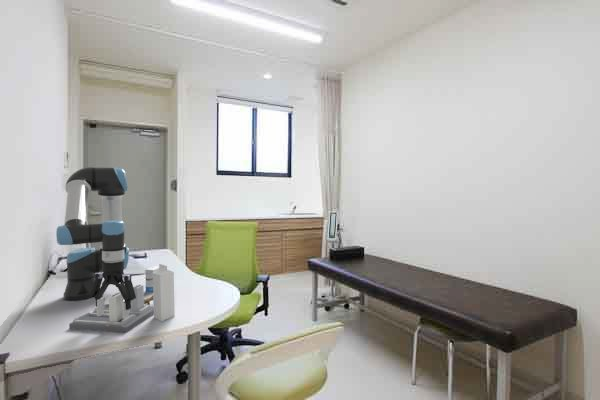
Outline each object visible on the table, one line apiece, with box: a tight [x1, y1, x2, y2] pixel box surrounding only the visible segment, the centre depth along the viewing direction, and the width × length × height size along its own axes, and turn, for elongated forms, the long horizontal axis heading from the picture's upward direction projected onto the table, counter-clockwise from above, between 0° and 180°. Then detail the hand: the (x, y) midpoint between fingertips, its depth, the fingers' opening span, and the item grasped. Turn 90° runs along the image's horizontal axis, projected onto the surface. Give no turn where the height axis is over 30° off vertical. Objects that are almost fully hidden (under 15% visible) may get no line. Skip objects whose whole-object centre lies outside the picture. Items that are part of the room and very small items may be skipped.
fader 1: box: [108, 291, 124, 322], centre depth 122 cm, size 3×4×10 cm
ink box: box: [144, 265, 159, 293], centre depth 165 cm, size 8×5×12 cm, turn 168°
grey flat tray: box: [68, 302, 154, 333], centre depth 127 cm, size 24×20×3 cm
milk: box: [152, 263, 176, 322], centre depth 130 cm, size 6×6×22 cm
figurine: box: [144, 294, 153, 305], centre depth 143 cm, size 4×4×15 cm
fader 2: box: [131, 284, 145, 312], centre depth 131 cm, size 3×4×10 cm
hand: (113, 316), depth 122 cm, fingers open, 10 cm apart
